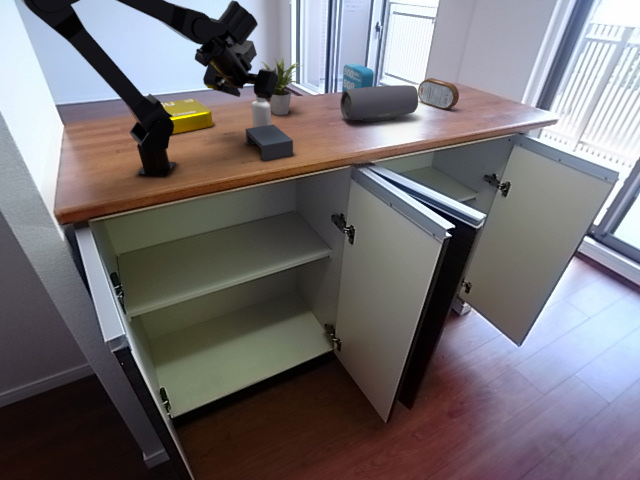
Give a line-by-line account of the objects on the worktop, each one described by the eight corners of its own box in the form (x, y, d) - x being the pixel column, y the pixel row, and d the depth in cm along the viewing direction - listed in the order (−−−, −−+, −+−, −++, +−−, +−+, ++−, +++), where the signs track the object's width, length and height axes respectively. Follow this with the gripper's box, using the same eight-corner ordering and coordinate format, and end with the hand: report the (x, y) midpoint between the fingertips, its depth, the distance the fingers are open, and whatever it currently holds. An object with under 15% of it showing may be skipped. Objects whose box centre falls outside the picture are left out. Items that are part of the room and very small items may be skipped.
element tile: (163, 136, 101) (159, 119, 98) (147, 120, 111) (143, 103, 108) (215, 126, 108) (213, 109, 106) (196, 111, 118) (193, 96, 115)
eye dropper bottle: (266, 126, 110) (264, 83, 102) (273, 133, 106) (271, 89, 98) (252, 128, 108) (248, 85, 101) (258, 135, 104) (255, 90, 97)
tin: (455, 110, 127) (462, 85, 122) (450, 112, 126) (457, 86, 121) (419, 99, 136) (424, 75, 131) (414, 101, 134) (419, 76, 129)
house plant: (311, 118, 116) (312, 62, 106) (268, 123, 112) (265, 64, 102) (296, 104, 127) (296, 52, 117) (256, 108, 122) (253, 53, 112)
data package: (341, 99, 133) (343, 63, 126) (351, 98, 135) (354, 62, 128) (359, 109, 125) (363, 71, 118) (370, 108, 127) (374, 70, 119)
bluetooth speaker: (401, 111, 125) (406, 80, 119) (416, 121, 118) (422, 88, 112) (338, 117, 118) (340, 84, 112) (350, 127, 111) (353, 93, 105)
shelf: (263, 161, 91) (262, 145, 89) (246, 143, 99) (245, 128, 97) (293, 155, 94) (293, 140, 92) (274, 138, 103) (273, 124, 100)
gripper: (272, 32, 82) (295, 74, 96) (202, 24, 87) (234, 66, 102) (256, 78, 81) (282, 114, 95) (186, 67, 86) (221, 103, 101)
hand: (254, 97), depth 98 cm, fingers open, 9 cm apart
